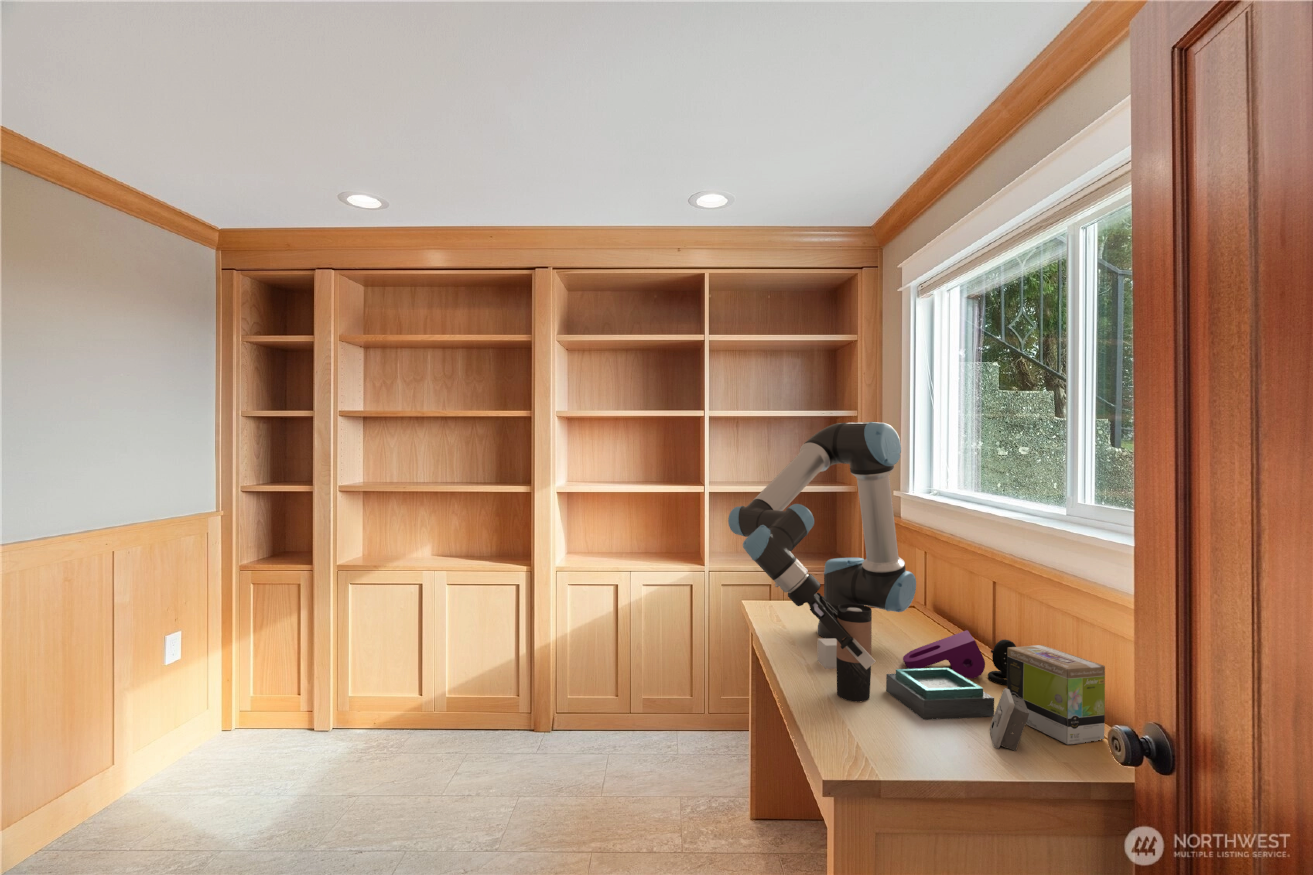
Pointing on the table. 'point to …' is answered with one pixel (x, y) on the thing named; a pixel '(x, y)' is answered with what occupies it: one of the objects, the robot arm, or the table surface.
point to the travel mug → (849, 670)
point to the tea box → (1059, 692)
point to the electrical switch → (1008, 721)
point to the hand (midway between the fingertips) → (868, 658)
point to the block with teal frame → (939, 694)
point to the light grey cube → (827, 653)
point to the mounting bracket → (950, 655)
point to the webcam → (1000, 661)
